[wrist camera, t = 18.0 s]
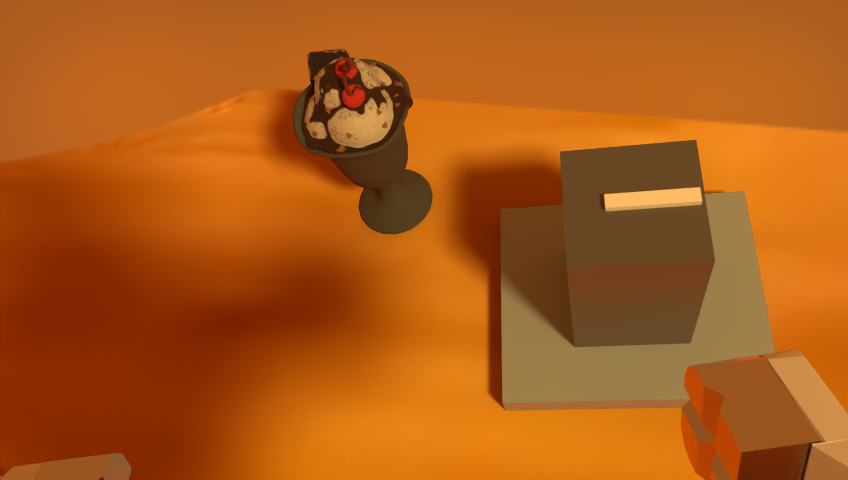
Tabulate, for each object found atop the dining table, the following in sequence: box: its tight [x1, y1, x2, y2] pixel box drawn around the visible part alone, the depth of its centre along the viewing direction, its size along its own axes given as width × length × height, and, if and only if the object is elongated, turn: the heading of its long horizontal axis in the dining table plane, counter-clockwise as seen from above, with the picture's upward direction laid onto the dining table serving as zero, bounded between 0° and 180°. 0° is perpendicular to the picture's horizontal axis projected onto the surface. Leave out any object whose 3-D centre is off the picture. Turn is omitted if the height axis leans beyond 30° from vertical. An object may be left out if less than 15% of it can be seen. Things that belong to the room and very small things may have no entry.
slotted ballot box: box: [560, 140, 715, 347], centre depth 37 cm, size 6×6×10 cm
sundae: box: [293, 49, 432, 234], centre depth 42 cm, size 7×7×15 cm
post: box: [500, 191, 775, 410], centre depth 39 cm, size 14×12×8 cm
